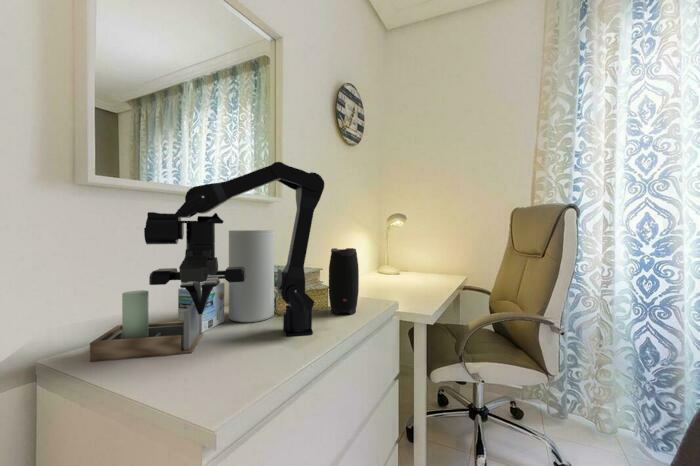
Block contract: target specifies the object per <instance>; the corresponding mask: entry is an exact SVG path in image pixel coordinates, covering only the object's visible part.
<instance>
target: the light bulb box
mask: <svg viewBox="0 0 700 466" xmlns="http://www.w3.org/2000/svg"><path fill="white" fill-rule="evenodd" d="M204 283H205V281H204V282H200V286H201V296H202V284H204ZM177 291H178V292H177V293H178V294H177V295H178V299H177V301H178V302H177V303H178V304H177V306H178V308H177V312H178V314H177V315H178V316H177V318H178V319H177V322H180V321H184V311H185V310H186V309H187V308H188V307H189V306H190V305H191V304H192V303H193V299H192V297H191V295H190V293H189V292H188V291H187V290H186V289H185V288H181V287H180V288H178V290H177ZM224 322H225V282H220V283H219V284H218V285H217V286H215V287H213V289H212V291H211V293H210V295H209V298H208V301H207V304H206V306H205V309H204V312H203V314H199V334H201V333H203V334H204V332H207V331H208V330H210V329H212V328H213V327H216V326H218V325H220V324H222V323H224Z"/></svg>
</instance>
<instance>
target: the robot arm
mask: <svg viewBox="0 0 700 466" xmlns="http://www.w3.org/2000/svg"><path fill="white" fill-rule="evenodd" d="M273 182H279V183H281V184H283V185H284V186H286V187H288V188H290V189H292V190H294V191H295V203H296V213H295V217H294V223H293V229H292V234H291V240H290V243H289V244H290V245H289V251H288V255H287V261H286V264H285V266H284V268H283V270H282V269H277V276H276V277H277V278H276V281H275V282H274V287H276V292H277V294H278V295H279V296H280V297H281V299H282V300H283V301H284V302H285V303H286V305H285V311H284V312H283V313H282V330H283V332H285V336H286V337H289V336H290V337H291V336H303V335H312V334H314V331H313V329H312V328H313V327H312V326H313V325H312V324H313V311H312V310H313V307H314V305H315V301H314V300H313V298H311V296H310V295H308V294H307V293H306V274H305V262H306V257H307V252H308V246H309V239H310V235H311V229H312V224H313V219H314V212H315V209H316V208H317V205H318V204H319V202H320V200H321V197H322V195H323V192H324V189H325V180H324V179H323V177H322V175H320V174H319V173H316V172H312V171H311V172H307V171H305V170H303V169H301V168H297V167H294V166H291V165H288V164H286V163H284V162H282V161H275V162H273V163H272V164H269V165H267V166H264V167H262V168H259V169H257V170H253V171H251V172H247V173H245V174H243V175H240V176H238V177H234V178H232V179H229V180H226V181H222V182H221V181H220V182H215V183H214V182H213V183H208V184H207V183H206V184H200V185H196V186H193V187H190V188H189V189H188V190H187V192H186V194H185V198H184V199H185V201H184V202H183V204H182V205H181V206H180V207H179V208H178V209H177V211H176V212H175V213H160V212H155V211H154V212H152V211H151V212H150V211H148V212H147V218H146V221H145V227H144V228H143V229H144V230H143V231H144V232H143V233H144V234H143V235H144V242H145V244H146V245H178V243H179V240H184V237H185V236H184V235H185V234H184V233H186V238H185V239H186V240H185V241H186V244H185V247H186V249H185V252H184V257H183V260H182V262H181V263H180V265H179V267H178V269H179V271H178V269H177V268H176V267H175V268H174V267H173V268H172V267H170V268H169V267H168V268H166V267H165V268H158V269H156V270H152V271H151V273H149V279H148V280H149V283H148V285H150V286H161V285H163V286H164V285H165V286H166V285H167V284H168V283H169V282H170V281H180V282H181V283H180V285H179V287H180V288H185V289H186V290H187V291H188V292H189V293H190V295H191V297H192V299H193V302H194V304H195V307H196V309H197V312H198V314H203V312H204V309H205V306H206V304H207V301H208V298H209V295H210V293H211V291H212V289H213V287H215V286H217V285H218V284H219V283H221V281H220V279H222V280H223V279H224V280H225V281H226V282H228V283H229V282H244V280H245V278H246V269H245V268H244V267H229V266H227V267H226V269H225V270H219V261H218V257H217V256H216V255H215V254H216V252H215V251H216V247H215V246H216V244H215V243H216V240H215V239H216V234H215V233H216V224H217V225H218V224H223V223H224V220H223V219H222V218H221V217H220V216H219V215H218V213H216V212H214V214H212V215H210V216H207V215H205V214H207V213H210V212H211V211H214V209H216V208H218V207H219V206H221V205H223V204H225V203H226V202H227V201H230V200H231V199H232V198H235V197H237V196H240V195H242V194H245V193H247V192H250V191H253V190H256V189H258V188H261V187H263V186H266V185H268V184H271V183H273ZM198 214H202V215H198ZM195 215H198V216H197V219H196V220H182V219H183V218H184V219H185V218H186V219H190V218H192V217H193V216H195ZM184 224H186V225H185V226H186V227H184ZM184 228H186V229H185V230H186V231H184ZM215 256H216V257H215ZM202 282H205V283H204V284H202V296H201V286H200V283H202Z"/></svg>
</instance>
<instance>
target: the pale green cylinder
mask: <svg viewBox="0 0 700 466" xmlns="http://www.w3.org/2000/svg"><path fill="white" fill-rule="evenodd" d="M121 295H122V296H121V297H122V298H121V301H122V304H121V307H122V310H121V311H122V314H121V317H122V320H121V321H122V324H121V325H122V338H123V339H130V338H144V337H149V323H150V321H149V319H150V318H149V316H150V315H149V306H150V305H149V304H150V303H149V291H148V290H141V289H140V290H130V291H127V292H125V291H124V292H122V294H121Z"/></svg>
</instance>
